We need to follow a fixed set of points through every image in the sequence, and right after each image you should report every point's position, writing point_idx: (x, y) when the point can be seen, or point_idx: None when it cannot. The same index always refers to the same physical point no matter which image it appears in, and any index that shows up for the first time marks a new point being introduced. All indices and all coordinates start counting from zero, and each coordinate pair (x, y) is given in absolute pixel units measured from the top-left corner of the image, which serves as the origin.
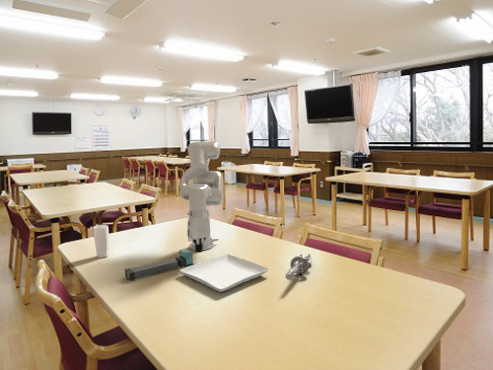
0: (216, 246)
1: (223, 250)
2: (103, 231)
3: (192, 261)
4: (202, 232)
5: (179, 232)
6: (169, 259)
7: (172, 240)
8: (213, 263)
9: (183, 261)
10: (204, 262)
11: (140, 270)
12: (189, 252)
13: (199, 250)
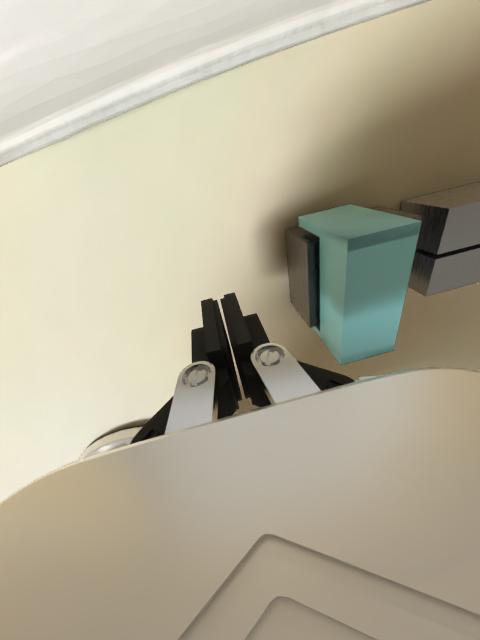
0: (59, 459)
1: (7, 404)
2: None
3: (305, 219)
4: (238, 624)
5: None
6: (455, 279)
7: None
8: (118, 35)
9: None
10: (244, 26)
11: None
12: (369, 254)
13: (235, 301)
